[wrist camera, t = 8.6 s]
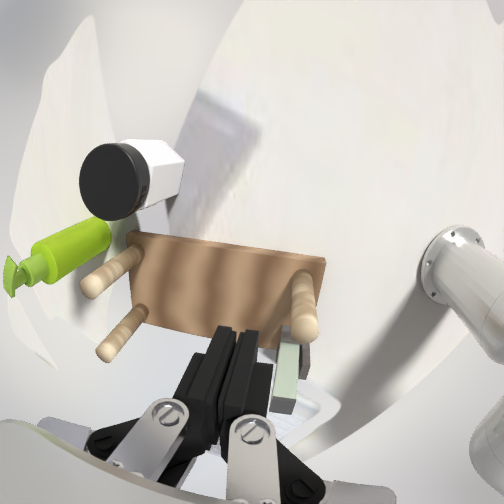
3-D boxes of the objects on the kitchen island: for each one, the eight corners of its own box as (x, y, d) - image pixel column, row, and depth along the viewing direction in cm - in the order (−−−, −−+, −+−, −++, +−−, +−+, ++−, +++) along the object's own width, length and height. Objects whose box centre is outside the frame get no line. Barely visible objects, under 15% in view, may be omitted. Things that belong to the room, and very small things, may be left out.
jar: (139, 208, 38) (89, 231, 27) (124, 156, 36) (68, 163, 24) (194, 190, 36) (152, 208, 25) (177, 133, 34) (129, 129, 22)
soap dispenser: (118, 225, 39) (23, 280, 21) (104, 257, 42) (20, 318, 23) (94, 204, 39) (-4, 245, 20) (81, 236, 41) (-6, 286, 23)
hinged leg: (282, 332, 39) (299, 335, 38) (279, 346, 40) (296, 349, 39) (272, 398, 27) (295, 401, 27) (268, 411, 28) (291, 414, 28)
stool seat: (324, 257, 37) (339, 314, 24) (303, 344, 42) (304, 413, 29) (133, 230, 39) (73, 266, 26) (139, 314, 45) (97, 364, 32)
